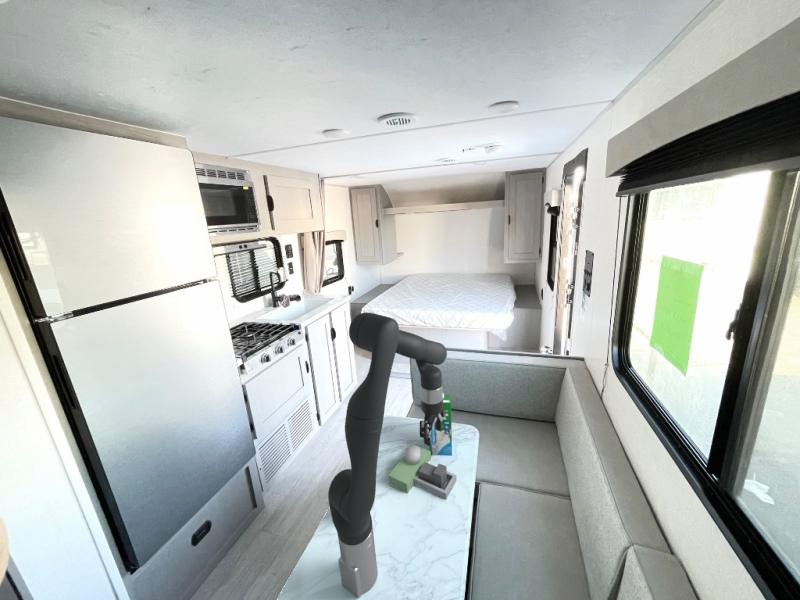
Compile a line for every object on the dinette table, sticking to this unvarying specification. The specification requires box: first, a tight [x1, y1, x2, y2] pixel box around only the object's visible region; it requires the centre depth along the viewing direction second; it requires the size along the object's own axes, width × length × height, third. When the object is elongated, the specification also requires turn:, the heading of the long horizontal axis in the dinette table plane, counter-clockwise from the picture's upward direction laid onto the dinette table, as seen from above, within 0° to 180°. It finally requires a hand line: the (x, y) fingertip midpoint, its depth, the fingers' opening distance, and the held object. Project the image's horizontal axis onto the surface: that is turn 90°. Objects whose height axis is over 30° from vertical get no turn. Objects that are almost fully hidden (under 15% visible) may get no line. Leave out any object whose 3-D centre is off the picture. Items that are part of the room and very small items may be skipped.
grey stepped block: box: [419, 462, 448, 490], centre depth 115 cm, size 9×5×7 cm, turn 59°
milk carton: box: [428, 393, 453, 456], centre depth 129 cm, size 9×9×25 cm
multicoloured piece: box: [388, 444, 457, 500], centre depth 117 cm, size 18×21×8 cm
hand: (433, 437), depth 110 cm, fingers open, 8 cm apart
